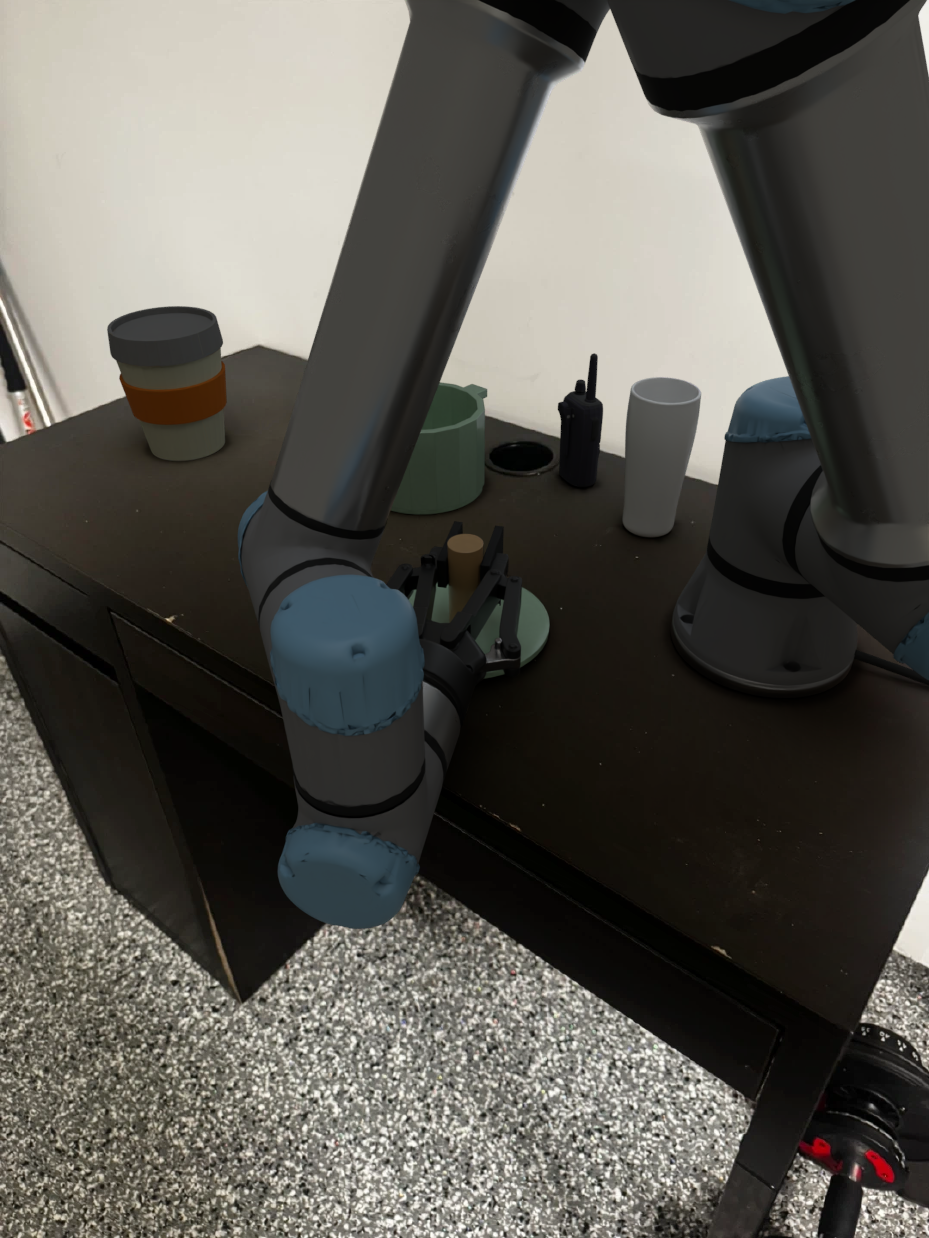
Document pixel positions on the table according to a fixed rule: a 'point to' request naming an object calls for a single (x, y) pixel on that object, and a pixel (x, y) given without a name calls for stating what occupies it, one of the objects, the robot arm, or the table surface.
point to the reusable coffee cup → (173, 378)
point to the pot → (446, 454)
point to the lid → (533, 615)
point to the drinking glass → (657, 452)
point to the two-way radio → (581, 431)
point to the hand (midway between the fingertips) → (478, 537)
